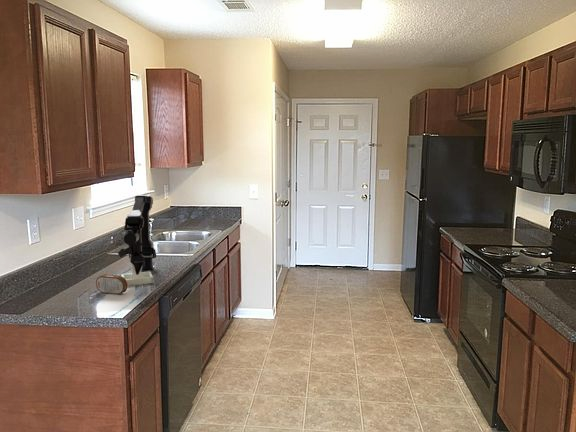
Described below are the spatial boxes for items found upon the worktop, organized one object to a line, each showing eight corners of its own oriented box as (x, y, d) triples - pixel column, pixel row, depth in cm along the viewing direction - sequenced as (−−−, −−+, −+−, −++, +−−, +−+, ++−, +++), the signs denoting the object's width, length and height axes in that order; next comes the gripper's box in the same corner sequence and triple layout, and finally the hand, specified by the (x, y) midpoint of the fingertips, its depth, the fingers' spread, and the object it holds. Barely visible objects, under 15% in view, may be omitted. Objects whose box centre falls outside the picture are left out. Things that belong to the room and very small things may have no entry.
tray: (121, 280, 234) (121, 274, 234) (150, 277, 239) (150, 271, 239) (122, 286, 223) (122, 280, 223) (153, 283, 228) (153, 277, 228)
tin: (128, 293, 212) (127, 275, 211) (124, 295, 209) (123, 277, 208) (99, 291, 216) (98, 273, 215) (95, 293, 213) (94, 274, 212)
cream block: (132, 279, 232) (131, 261, 231) (140, 278, 234) (140, 261, 232) (132, 281, 228) (132, 263, 227) (141, 280, 230) (140, 262, 229)
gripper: (117, 238, 234) (118, 269, 236) (118, 245, 217) (120, 278, 219) (140, 237, 238) (141, 267, 240) (143, 244, 221) (145, 276, 223)
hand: (136, 272), depth 230 cm, fingers open, 9 cm apart
